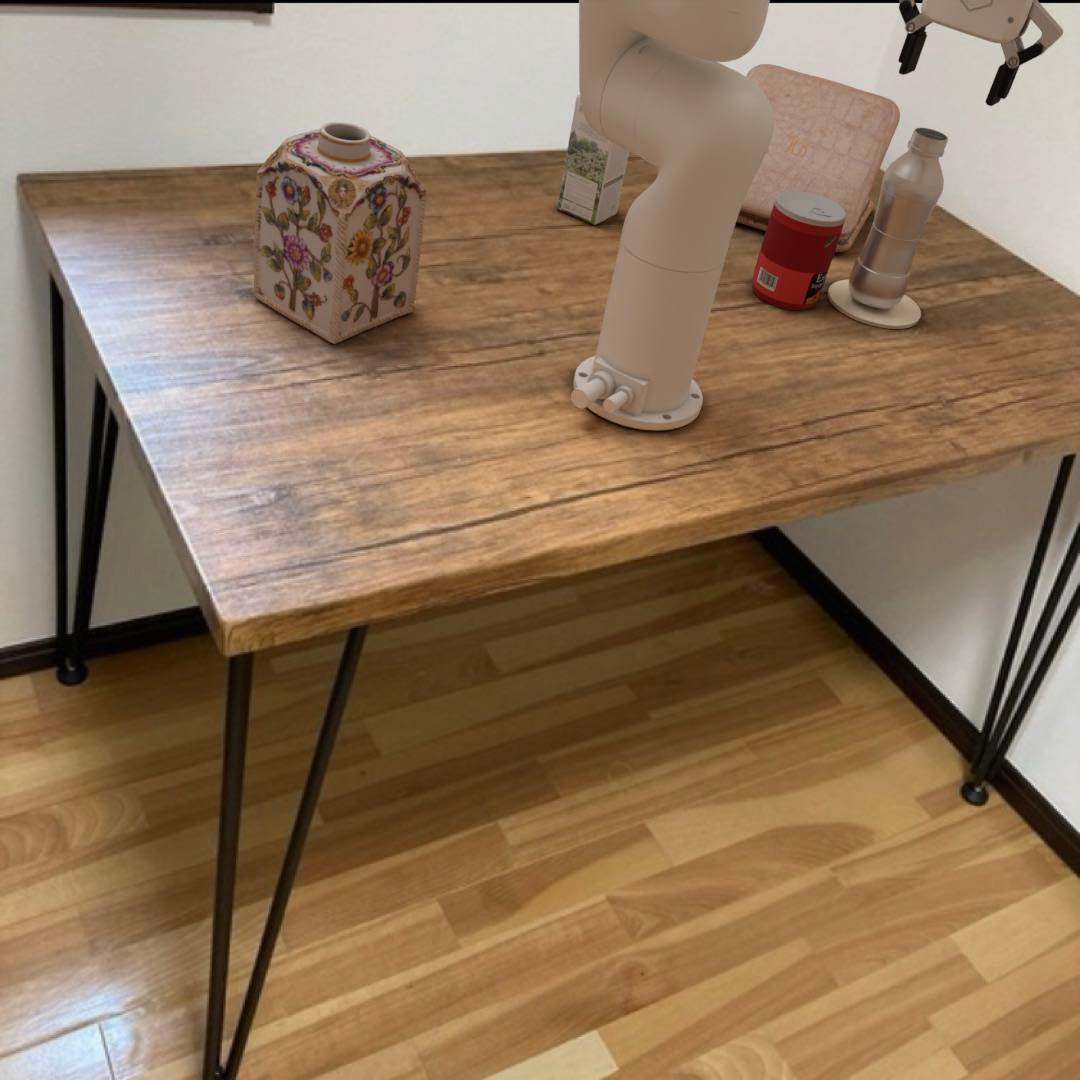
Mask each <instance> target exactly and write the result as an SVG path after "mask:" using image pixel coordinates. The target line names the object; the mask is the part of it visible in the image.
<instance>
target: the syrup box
mask: <svg viewBox="0 0 1080 1080" xmlns="http://www.w3.org/2000/svg"><path fill="white" fill-rule="evenodd" d="M629 155H630V152H629V151H627V150H626V149H624V148H622V147H620V146H618V145H616V144H615V143H613V142H611V141H609V140H607V139H606V138H604V137H603V136H601V135H600V134H598V133H597V132H596V131H595V130H594V129H593V128H592V127H591V126H590V124H589V123H588V121H587V120H586V118H585V115H584V113H583V110H582V105H581V100H580V92H579V93H578V92H577V93H576V99H575V104H574V108H573V115H572V121H571V127H570V132H569V138H568V143H567V149H566V156H565V162H564V167H563V173H562V177H561V178H562V179H561V184H560V190H559V195H558V199H557V200H558V201H557V206H556V208H557V210H559V211H561V212H563V213H566V214H568V215H571V216H573V217H574V218H577V219H578V220H579V219H580V220H582V221H584V222H587V223H589V224H591V225H598V224H600V223H603V222H604V221H606V220H607V219H610V218H612V217H613V216H615V215H617V213H618V210H619V205H620V200H621V193H622V188H623V183H624V178H625V174H626V169H627V164H628V159H629Z"/></svg>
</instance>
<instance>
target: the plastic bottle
mask: <svg viewBox="0 0 1080 1080" xmlns="http://www.w3.org/2000/svg"><path fill="white" fill-rule="evenodd" d="M948 140H949V137H948V136H947V134H944V133H943V132H942V131H941V132H940V131H938V130H935V129H932V128H929V127H916V128H914V130H913V131H912V134H911V136H910V140H908V142H907V145H906V146H907V147H906V148H908V150H907V151H905V152H904V153H903V154H901V155H899V156H898V157H897V158H896V159H894V161H892V162H891V163H890V164H889V165H888V167H886V169H885V171H884V172H883V176H882V180H881V184H880V185H881V186H880V190H879V191H880V192H879V198H878V202H877V207H876V209H875V213H874V218H873V222H872V224H871V228H870V230H869V233H868V235H867V238H866V240H865V243H864V245H863V247H862V249H861V252H860V254H859V256H858V257H857V259H855V262H854V263H853V266H852V268H851V270H850V272H849V278H848V279H849V284H848V287H849V290H850V293H851V295H852V297H853V298H855V299H856V300H857V301H859V302H861V303H863V304H865V305H868V306H871V307H875V308H881V309H888V308H892V307H894V306H895V305H897V304H898V303H899V302H900V301H901V300H902V298H903V296H904V295H906V294H907V291H908V287H909V282H910V276H911V268H912V265H913V262H914V257H915V253H916V250H917V246H918V244H919V241H920V239H921V235H922V234H923V232H924V230H925V227H926V225H927V223H928V220H929V218H930V216H931V215H932V213H933V211H934V209H935V207H936V205H937V204H938V201H939V199H940V198H941V196H942V193H943V191H944V184H945V183H944V182H945V180H944V179H945V178H944V173H943V170H942V167H941V164H940V158H942V157H943V156H944V154H945V149H946V146H947V144H948V142H949V141H948Z"/></svg>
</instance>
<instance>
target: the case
mask: <svg viewBox="0 0 1080 1080" xmlns="http://www.w3.org/2000/svg"><path fill="white" fill-rule="evenodd" d="M745 77H747V78H748V79H750V80H751V81H752V82H754V83H755V84H756V85H757V86H758V87H759V88H760V89H761V90H762V91H763V92H764V94H765V95H766V96H767V98H768V100H769V102H770V104H771V106H772V109H773V114H774V131H773V136H772V139H771V142H770V145H769V148H768V150H767V152H766V155H765V157H764V159H763V161H762V163H761V165H760V167H759V169H758V171H757V173H756V175H755V177H754V179H753V181H752V183H751V185H750V188H749V190H748V192H747V194H746V197H745V199H744V202H743V204H742V206H741V209H740V212H739V215H738V218H737V221H736V223H738V224H741V225H745V226H748V227H751V228H755V229H758V230H761V231H764V232H766V229H767V226H768V222H769V219H770V215H771V212H772V209H773V205H774V202H775V200H776V197H777V196H778V194H780V193H782V192H787V191H801V192H808V193H812V194H816V195H819V196H822V197H825V198H827V199H829V200H831V201H833V202H835V203H837V204H838V205H839V206H841V207H842V208H843V209H844V210H845V212H846V217H845V222H844V225H843V229H842V232H841V235H840V238H839V241H838V244H837V247H836V250H835V253H843V252H847V251H848V250H849V249H851V248H852V246H853V245H854V242H855V240H856V239H857V237H858V235H859V233H860V232H861V230H862V228H863V226H864V224H865V223H866V221H867V219H868V217H869V216H870V214H871V213H872V211H873V209H874V207H875V205H874V202H873V201H872V200H871V198H870V197H869V196H870V193H871V191H872V189H873V186H874V184H875V182H876V179H877V177H878V174H879V171H880V169H881V167H882V164H883V162H884V159H885V157H886V154H887V152H888V149H889V147H890V145H891V142H892V140H893V138H894V135H895V133H896V130H897V128H898V126H899V123H900V119H901V112H900V111H901V110H900V108H899V106H898V104H897V103H896V102H894V100H892V99H890V98H889V97H885V96H882V95H880V94H876V93H872V92H869V91H865V90H862V89H859V88H856V87H853V86H851V85H848V84H844V83H841V82H837V81H834V80H831V79H828V78H824V77H820V76H817V75H811V74H808V73H804V72H800V71H797V70H794V69H789V68H788V67H787V68H786V67H784V66H781V65H776V64H770V63H761V64H758V65H755V66H753V67H752V68H751V69H749V71H748V72H747V74H746V75H745Z"/></svg>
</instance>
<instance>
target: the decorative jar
mask: <svg viewBox="0 0 1080 1080" xmlns="http://www.w3.org/2000/svg"><path fill="white" fill-rule="evenodd" d="M255 185H256V186H255V188H256V189H255V212H254V214H255V215H254V239H253V296H254V298H255V299H256V300H258V301H260V302H261V303H263V304H264V305H267V306H268V307H270V308H271V309H273V310H275V312H277V313H280V314H281V315H283V316H284V317H286V318H288V319H289V320H291V321H293V322H294V323H296V324H298V325H300V326H302V327H303V328H305V329H307V330H308V331H310V332H312V333H313V334H315V335H317V336H318V337H320V338H322V339H324V340H325V341H326V342H328V343H330V344H333V345H337V344H339V343H341V342H343V341H345V340H348V339H349V338H352V337H354V336H356V335H359V334H361V333H363V332H366V331H367V330H368V331H369V330H371V329H373V328H376V327H379V326H381V325H383V324H385V323H388V322H390V321H392V320H394V319H397V318H399V317H402V316H405V315H408V314H411V313H413V311H414V309H415V302H416V293H417V285H418V278H419V270H420V263H421V262H420V261H421V252H422V244H423V231H424V224H425V223H424V222H425V215H426V213H425V212H426V202H427V201H426V200H427V188H426V187H425V186H424V184H423V183H422V181H421V179H420V177H419V176H418V174H417V173H416V172H415V170H414V168H413V167H412V165H411V164H410V163H409V161H408V159H407V158H406V156H405V154H404V153H403V152H402V151H401V150H399V149H398V148H396V147H394V146H392V145H390V144H388V143H386V142H384V141H382V140H381V139H379V138H377V137H374V136H372V135H371V133H370V132H369V131H368V129H366V128H364V127H363V126H359V125H358V124H353V123H349V122H338V121H337V122H336V121H335V122H333V121H332V122H327V123H324V124H323V125H321V126H320V128H318V129H314V130H310V131H306V132H301V133H298V134H296V135H293V136H292V135H291V136H290V137H289V136H288V137H287V138H285V139H284V140H283V141H282V143H281V144H280V145H279V146H278V147H277V148H276V150H274V151H273V152H272V153H271V154H270V155H269V157H268V158H267V159H265V162H264V163H263V164H262V166H261V167H259V168H258V169H257V172H256V184H255Z"/></svg>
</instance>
